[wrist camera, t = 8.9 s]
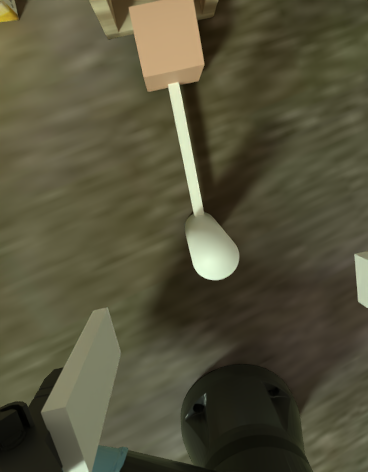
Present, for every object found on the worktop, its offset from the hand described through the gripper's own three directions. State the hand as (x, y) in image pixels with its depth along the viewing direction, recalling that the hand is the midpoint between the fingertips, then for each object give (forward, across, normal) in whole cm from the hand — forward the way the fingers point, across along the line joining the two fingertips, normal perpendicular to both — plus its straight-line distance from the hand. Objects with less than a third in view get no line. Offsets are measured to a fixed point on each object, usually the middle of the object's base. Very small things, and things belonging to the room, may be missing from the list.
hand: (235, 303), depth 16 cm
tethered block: (+18, 0, -9) cm, 20 cm away
